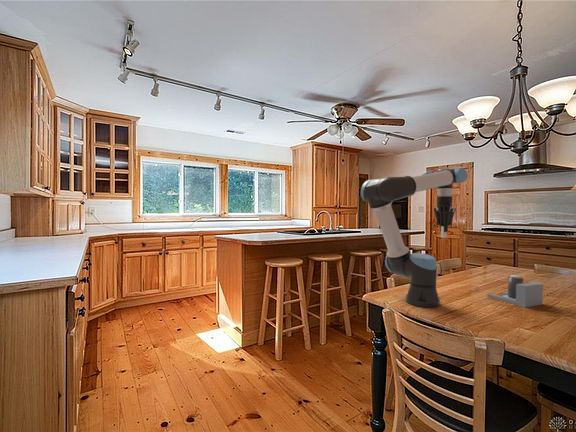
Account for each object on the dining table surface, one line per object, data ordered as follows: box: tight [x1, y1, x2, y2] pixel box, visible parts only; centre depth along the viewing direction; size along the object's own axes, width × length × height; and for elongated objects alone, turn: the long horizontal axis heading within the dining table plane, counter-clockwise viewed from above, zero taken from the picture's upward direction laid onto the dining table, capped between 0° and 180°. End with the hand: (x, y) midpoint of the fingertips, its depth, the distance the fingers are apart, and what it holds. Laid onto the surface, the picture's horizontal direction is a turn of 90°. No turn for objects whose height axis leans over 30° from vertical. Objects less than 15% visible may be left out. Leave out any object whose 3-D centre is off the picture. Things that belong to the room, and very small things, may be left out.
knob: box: [501, 274, 524, 301], centre depth 147 cm, size 8×8×12 cm
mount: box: [486, 281, 544, 308], centre depth 148 cm, size 13×18×10 cm
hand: (443, 237), depth 168 cm, fingers closed
